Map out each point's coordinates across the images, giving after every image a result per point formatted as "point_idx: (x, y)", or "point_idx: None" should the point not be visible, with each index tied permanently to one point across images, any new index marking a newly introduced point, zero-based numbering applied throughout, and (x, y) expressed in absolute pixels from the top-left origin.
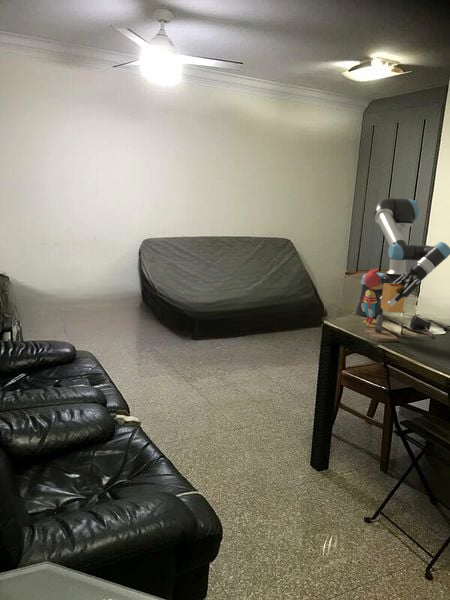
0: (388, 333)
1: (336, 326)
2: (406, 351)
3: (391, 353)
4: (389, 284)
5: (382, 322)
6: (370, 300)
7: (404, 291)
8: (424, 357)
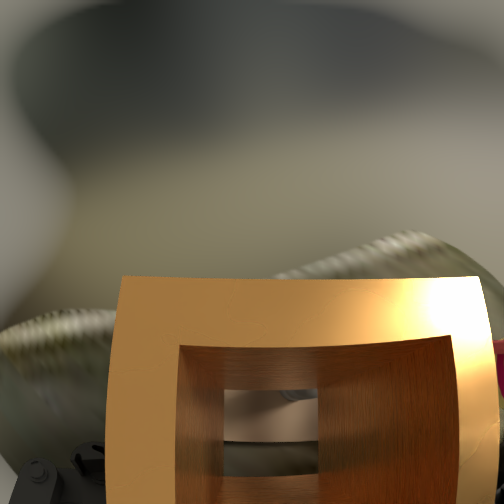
0: (265, 428)
1: (395, 248)
2: (66, 384)
3: (60, 310)
4: (448, 397)
5: (291, 394)
6: (496, 353)
7: (43, 500)
8: (14, 403)
